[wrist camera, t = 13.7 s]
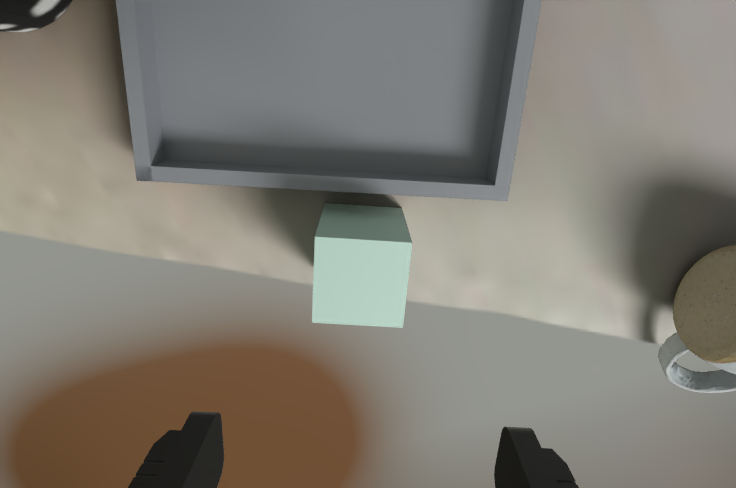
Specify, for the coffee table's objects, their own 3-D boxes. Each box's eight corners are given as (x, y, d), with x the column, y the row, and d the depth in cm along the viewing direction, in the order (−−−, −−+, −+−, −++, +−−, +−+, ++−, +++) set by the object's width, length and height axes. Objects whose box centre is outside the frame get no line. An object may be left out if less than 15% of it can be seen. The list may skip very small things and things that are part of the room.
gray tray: (534, -61, 22) (554, -77, 20) (494, 190, 27) (507, 201, 24) (130, -90, 22) (102, -110, 20) (156, 171, 26) (136, 180, 24)
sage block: (401, 207, 27) (412, 242, 22) (394, 278, 29) (402, 327, 23) (324, 202, 27) (314, 236, 21) (321, 273, 29) (312, 322, 23)
